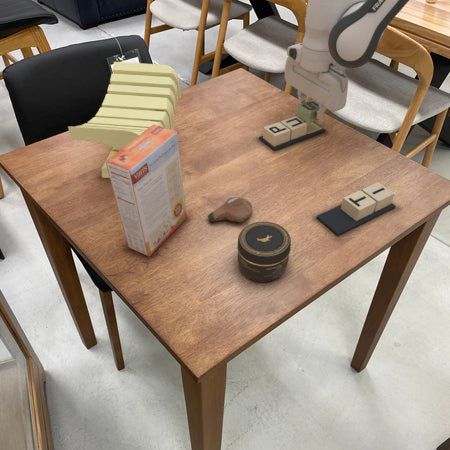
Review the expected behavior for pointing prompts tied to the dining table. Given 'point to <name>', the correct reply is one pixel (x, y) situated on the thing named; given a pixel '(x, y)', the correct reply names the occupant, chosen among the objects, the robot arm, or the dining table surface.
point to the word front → (358, 208)
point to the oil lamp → (232, 210)
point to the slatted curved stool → (132, 106)
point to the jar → (263, 251)
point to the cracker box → (149, 188)
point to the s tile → (308, 111)
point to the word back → (289, 132)
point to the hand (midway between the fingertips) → (310, 112)
